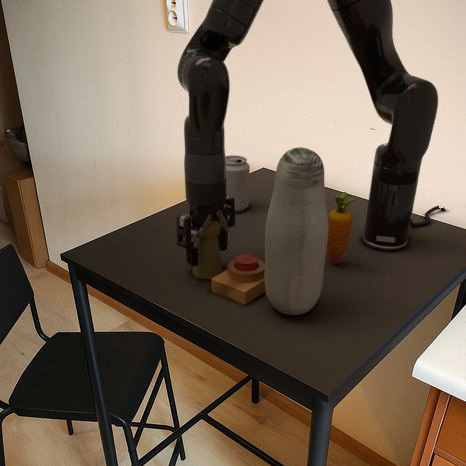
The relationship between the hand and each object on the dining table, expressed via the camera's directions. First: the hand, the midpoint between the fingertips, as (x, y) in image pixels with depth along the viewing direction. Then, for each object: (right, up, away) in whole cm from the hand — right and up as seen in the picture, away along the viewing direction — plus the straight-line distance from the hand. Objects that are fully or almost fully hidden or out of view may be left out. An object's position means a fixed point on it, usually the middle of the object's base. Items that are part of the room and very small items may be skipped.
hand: (207, 256), depth 115 cm
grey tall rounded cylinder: (+15, -11, -9) cm, 21 cm away
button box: (+7, -6, -3) cm, 10 cm away
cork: (0, -3, +2) cm, 3 cm away
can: (+5, +17, +30) cm, 34 cm away
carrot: (+26, -1, +5) cm, 26 cm away
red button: (+7, -3, -5) cm, 10 cm away
